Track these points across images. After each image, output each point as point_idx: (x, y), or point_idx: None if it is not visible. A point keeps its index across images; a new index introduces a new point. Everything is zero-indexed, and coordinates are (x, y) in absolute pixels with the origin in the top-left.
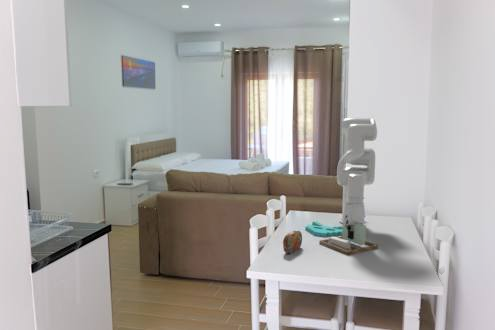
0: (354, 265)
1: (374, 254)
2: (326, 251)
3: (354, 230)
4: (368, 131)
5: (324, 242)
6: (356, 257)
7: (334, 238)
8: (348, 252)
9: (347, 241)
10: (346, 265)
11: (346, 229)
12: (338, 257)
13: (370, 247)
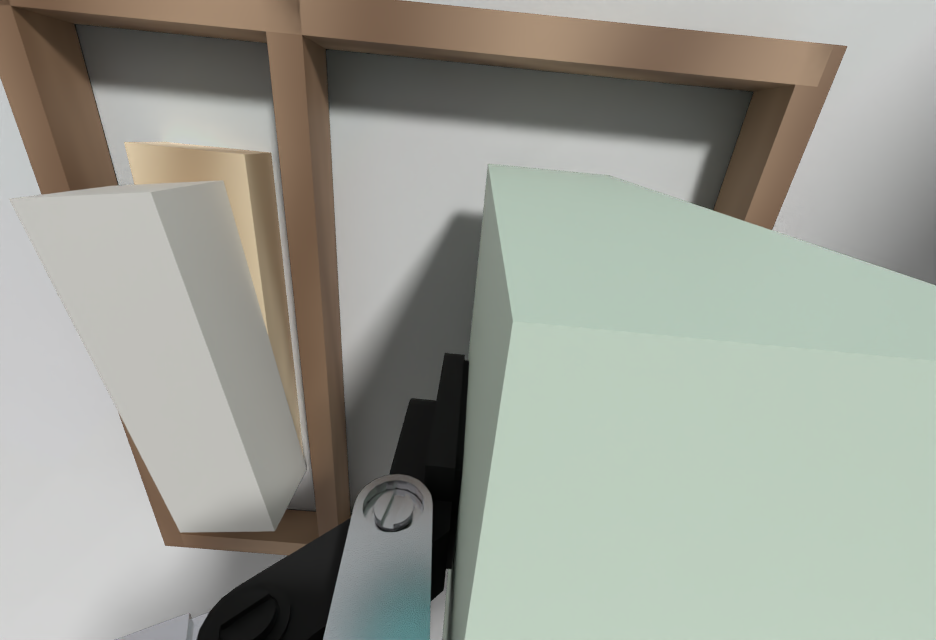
0: (111, 636)
1: (430, 604)
2: (6, 335)
3: (446, 621)
4: None
5: (22, 138)
6: (233, 573)
7: (104, 311)
8: (183, 537)
9: (234, 513)
10: (48, 615)
11: (472, 371)
12: (65, 505)
13: None
